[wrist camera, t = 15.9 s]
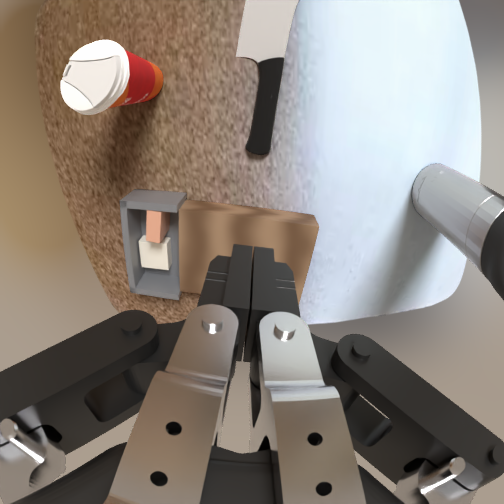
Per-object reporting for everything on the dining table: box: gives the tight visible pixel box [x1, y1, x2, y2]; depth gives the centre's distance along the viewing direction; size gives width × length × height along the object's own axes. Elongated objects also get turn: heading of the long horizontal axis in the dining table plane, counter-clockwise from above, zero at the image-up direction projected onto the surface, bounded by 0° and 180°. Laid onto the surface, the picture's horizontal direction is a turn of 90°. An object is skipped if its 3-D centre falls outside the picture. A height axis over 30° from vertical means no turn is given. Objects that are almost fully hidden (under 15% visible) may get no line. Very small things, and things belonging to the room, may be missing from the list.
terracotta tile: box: [146, 210, 170, 243], centre depth 36 cm, size 4×4×2 cm
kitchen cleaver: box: [236, 0, 299, 155], centre depth 26 cm, size 31×2×10 cm
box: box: [120, 189, 187, 300], centre depth 38 cm, size 8×15×5 cm, turn 173°
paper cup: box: [61, 40, 163, 115], centre depth 23 cm, size 8×8×14 cm
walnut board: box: [179, 200, 319, 305], centre depth 39 cm, size 18×13×4 cm
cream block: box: [139, 235, 172, 270], centre depth 40 cm, size 4×4×2 cm
